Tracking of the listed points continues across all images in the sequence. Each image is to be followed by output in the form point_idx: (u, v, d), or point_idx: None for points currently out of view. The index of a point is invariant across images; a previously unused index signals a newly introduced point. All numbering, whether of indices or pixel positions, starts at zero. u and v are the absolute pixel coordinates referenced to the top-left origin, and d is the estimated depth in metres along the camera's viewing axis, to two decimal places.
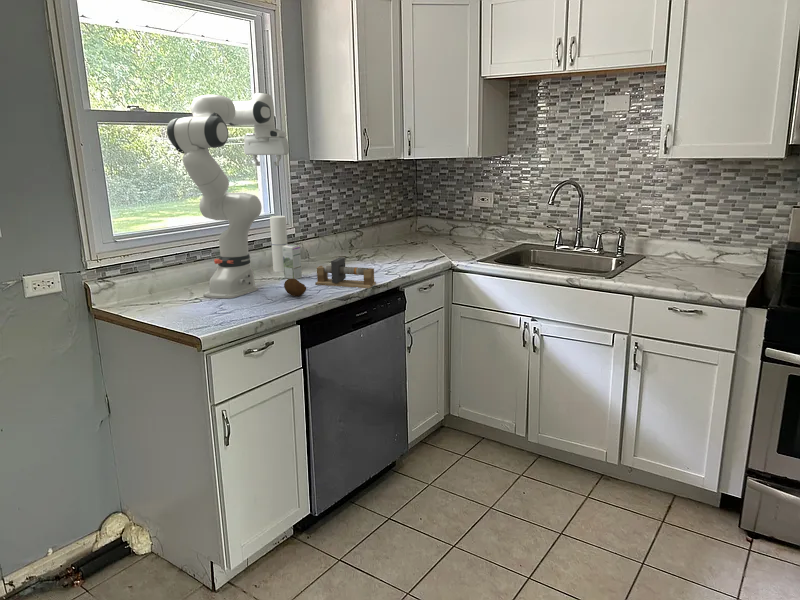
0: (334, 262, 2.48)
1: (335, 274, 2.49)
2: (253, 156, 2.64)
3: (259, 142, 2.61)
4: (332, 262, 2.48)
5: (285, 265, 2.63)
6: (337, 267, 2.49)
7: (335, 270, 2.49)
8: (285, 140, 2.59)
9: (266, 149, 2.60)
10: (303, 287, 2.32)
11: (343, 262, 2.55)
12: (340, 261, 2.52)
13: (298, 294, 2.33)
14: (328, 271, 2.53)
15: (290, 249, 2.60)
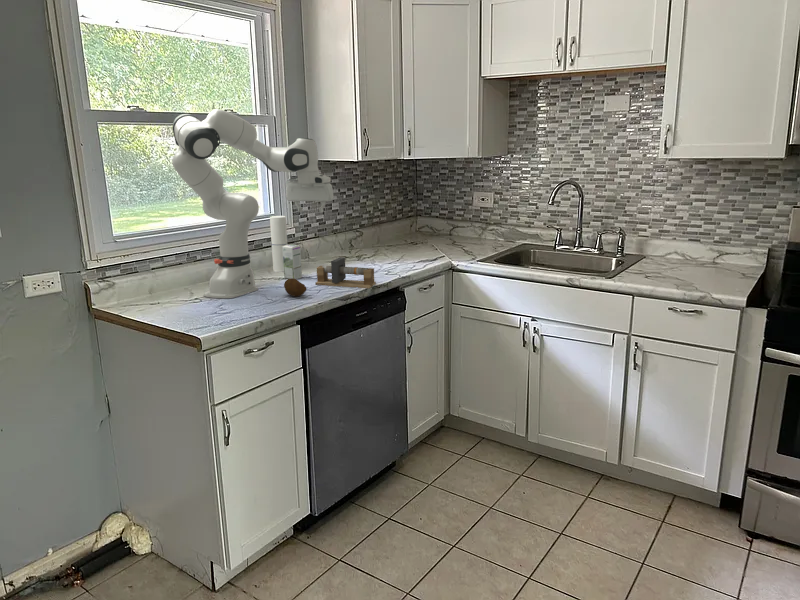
0: (334, 262, 2.48)
1: (335, 274, 2.49)
2: (296, 202, 2.54)
3: (302, 188, 2.50)
4: (332, 262, 2.48)
5: (285, 265, 2.63)
6: (337, 267, 2.49)
7: (335, 270, 2.49)
8: (330, 186, 2.49)
9: (310, 195, 2.50)
10: (303, 287, 2.32)
11: (343, 262, 2.55)
12: (340, 261, 2.52)
13: (298, 294, 2.33)
14: (328, 271, 2.53)
15: (290, 249, 2.60)
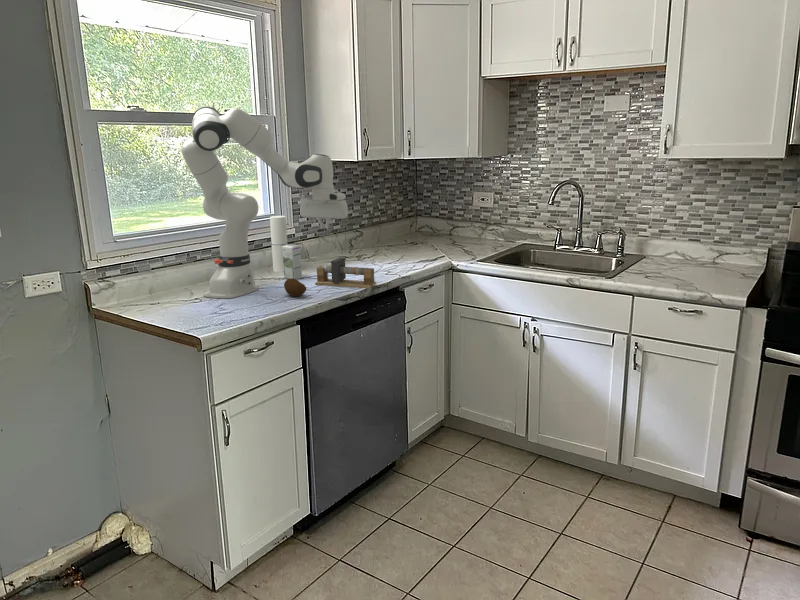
0: (334, 262, 2.48)
1: (335, 274, 2.49)
2: (318, 219, 2.49)
3: (317, 204, 2.47)
4: (332, 262, 2.48)
5: (285, 265, 2.63)
6: (337, 267, 2.49)
7: (335, 270, 2.49)
8: (345, 203, 2.45)
9: (324, 212, 2.47)
10: (303, 287, 2.32)
11: (343, 262, 2.55)
12: (340, 261, 2.52)
13: (298, 294, 2.33)
14: (328, 271, 2.53)
15: (290, 249, 2.60)
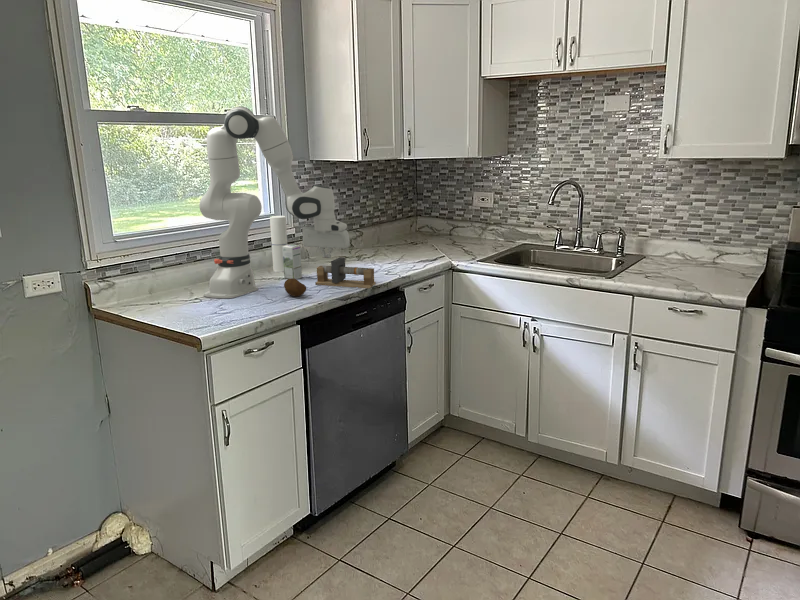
0: (334, 262, 2.48)
1: (335, 274, 2.49)
2: (321, 248, 2.52)
3: (319, 235, 2.50)
4: (332, 262, 2.48)
5: (285, 265, 2.63)
6: (337, 267, 2.49)
7: (335, 270, 2.49)
8: (346, 233, 2.48)
9: (326, 242, 2.49)
10: (303, 287, 2.32)
11: (343, 262, 2.55)
12: (340, 261, 2.52)
13: (298, 294, 2.33)
14: (328, 271, 2.53)
15: (290, 249, 2.60)
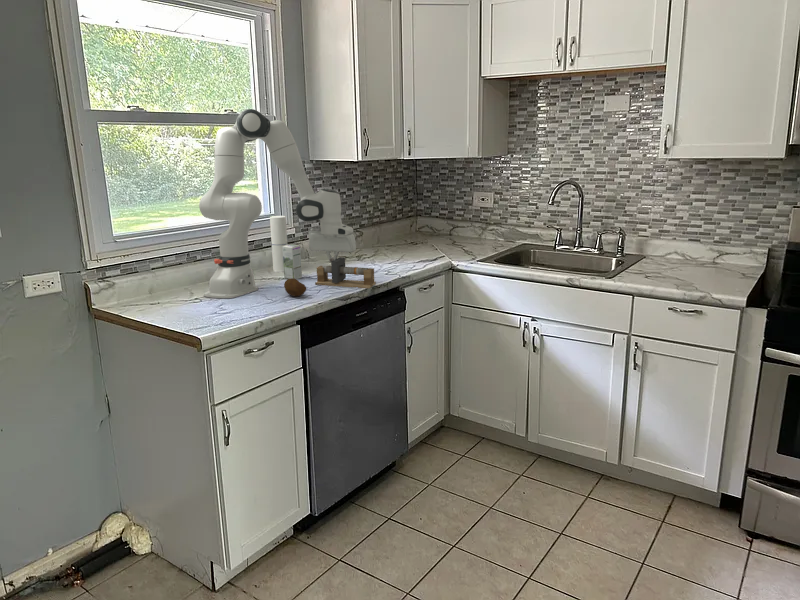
0: (334, 262, 2.48)
1: (335, 274, 2.49)
2: (327, 252, 2.52)
3: (325, 238, 2.50)
4: (332, 262, 2.48)
5: (285, 265, 2.63)
6: (337, 267, 2.49)
7: (335, 270, 2.49)
8: (353, 237, 2.48)
9: (333, 246, 2.50)
10: (303, 287, 2.32)
11: (343, 262, 2.55)
12: (340, 261, 2.52)
13: (298, 294, 2.33)
14: (328, 271, 2.53)
15: (290, 249, 2.60)
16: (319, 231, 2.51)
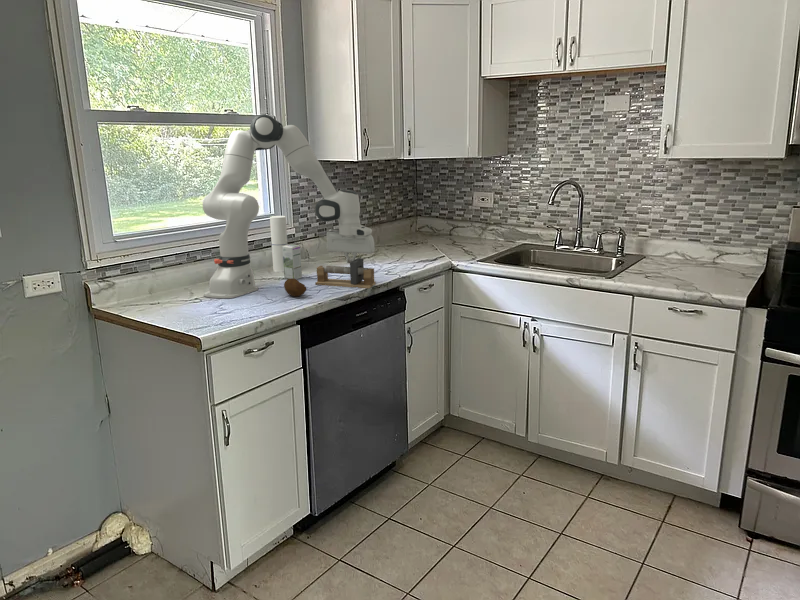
0: (353, 263, 2.46)
1: (354, 275, 2.47)
2: (345, 253, 2.50)
3: (343, 239, 2.48)
4: (351, 263, 2.46)
5: (285, 265, 2.63)
6: (356, 268, 2.46)
7: (354, 271, 2.46)
8: (371, 238, 2.46)
9: (351, 247, 2.47)
10: (303, 287, 2.32)
11: (361, 263, 2.52)
12: (359, 262, 2.49)
13: (298, 294, 2.33)
14: (328, 271, 2.53)
15: (290, 249, 2.60)
16: (337, 232, 2.49)
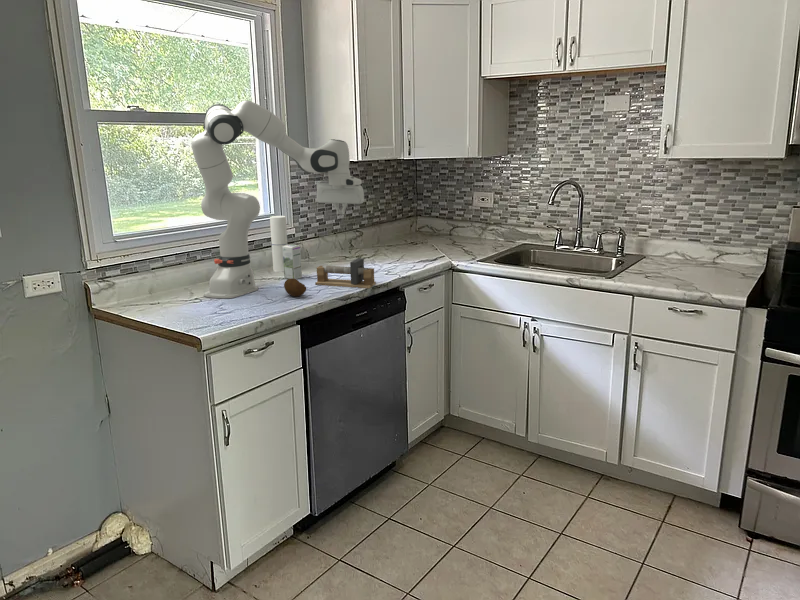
0: (353, 263, 2.46)
1: (354, 275, 2.47)
2: (335, 204, 2.50)
3: (333, 190, 2.48)
4: (351, 263, 2.46)
5: (285, 265, 2.63)
6: (356, 268, 2.46)
7: (354, 271, 2.46)
8: (361, 188, 2.46)
9: (341, 197, 2.48)
10: (303, 287, 2.32)
11: (362, 263, 2.52)
12: (359, 262, 2.49)
13: (298, 294, 2.33)
14: (328, 271, 2.53)
15: (290, 249, 2.60)
16: (327, 183, 2.49)
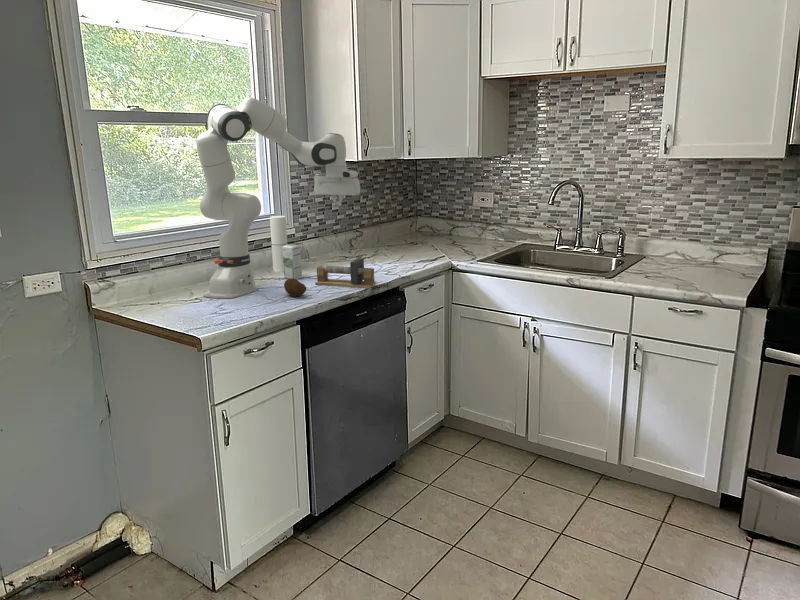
0: (353, 263, 2.46)
1: (354, 275, 2.47)
2: (332, 196, 2.59)
3: (330, 182, 2.57)
4: (351, 263, 2.46)
5: (285, 265, 2.63)
6: (356, 268, 2.46)
7: (354, 271, 2.46)
8: (357, 180, 2.55)
9: (338, 189, 2.56)
10: (303, 287, 2.32)
11: (362, 263, 2.52)
12: (359, 262, 2.49)
13: (298, 294, 2.33)
14: (328, 271, 2.53)
15: (290, 249, 2.60)
16: (324, 175, 2.58)
